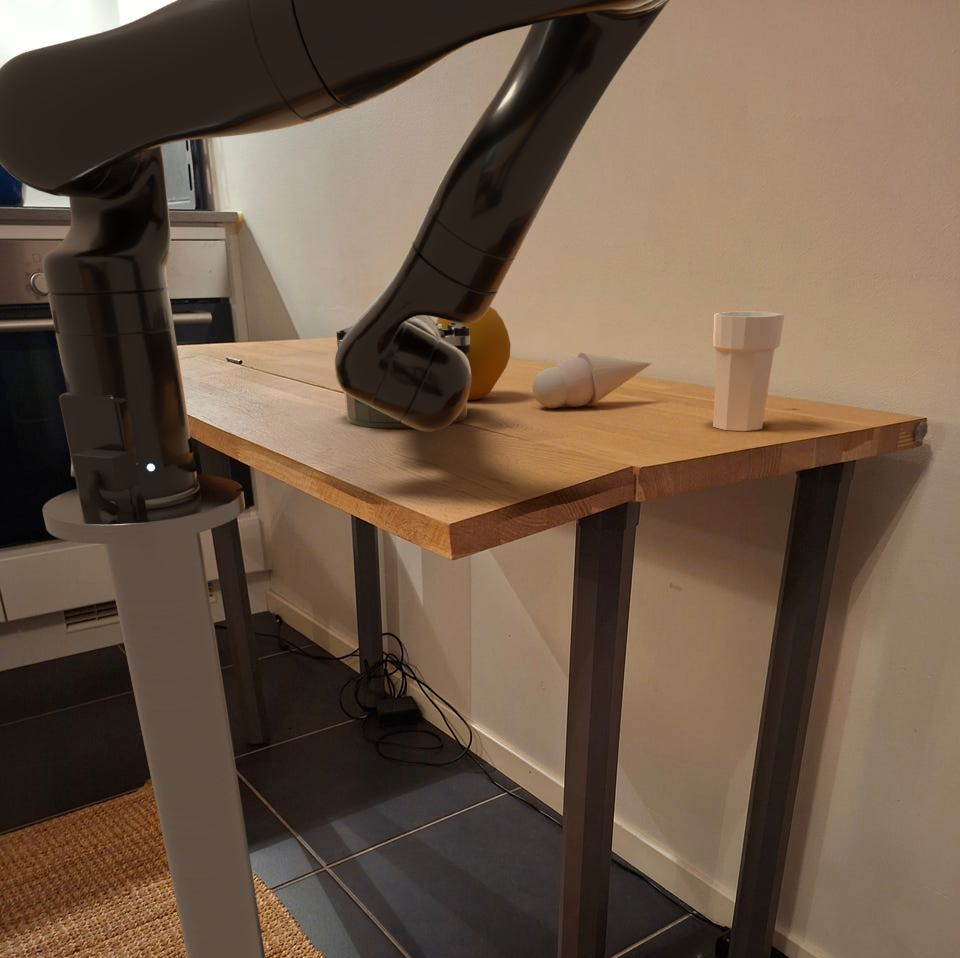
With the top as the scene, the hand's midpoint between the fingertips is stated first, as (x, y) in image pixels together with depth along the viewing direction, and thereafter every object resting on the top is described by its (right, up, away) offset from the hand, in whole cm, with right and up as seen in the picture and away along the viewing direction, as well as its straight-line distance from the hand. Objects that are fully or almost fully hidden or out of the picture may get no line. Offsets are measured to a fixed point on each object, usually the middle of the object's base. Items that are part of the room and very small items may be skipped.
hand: (403, 333), depth 101 cm
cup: (+35, -12, -7) cm, 38 cm away
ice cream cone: (+22, -7, +6) cm, 24 cm away
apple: (+7, -4, +13) cm, 15 cm away
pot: (0, -9, +1) cm, 9 cm away
